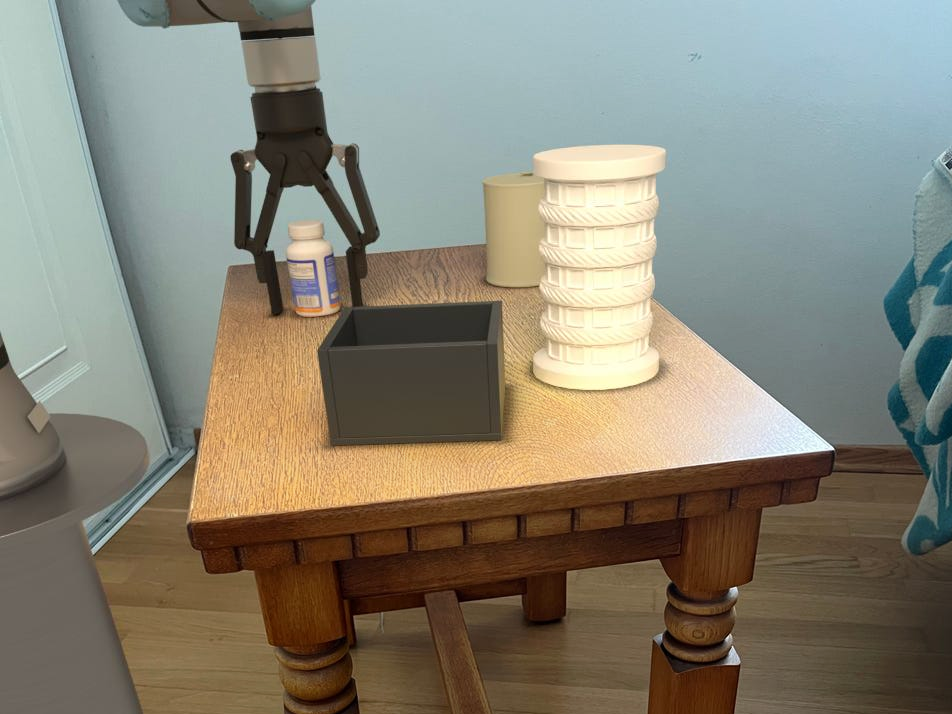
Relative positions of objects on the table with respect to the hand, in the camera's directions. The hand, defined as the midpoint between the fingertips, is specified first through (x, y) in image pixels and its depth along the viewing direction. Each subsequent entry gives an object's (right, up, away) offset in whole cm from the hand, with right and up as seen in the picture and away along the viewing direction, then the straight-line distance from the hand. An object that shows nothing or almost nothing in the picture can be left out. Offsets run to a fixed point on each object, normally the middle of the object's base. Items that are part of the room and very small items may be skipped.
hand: (317, 309), depth 110 cm
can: (+25, +7, +8) cm, 27 cm away
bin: (+14, -20, -31) cm, 39 cm away
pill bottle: (0, 0, 0) cm, 0 cm away
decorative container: (+30, -14, -23) cm, 40 cm away
